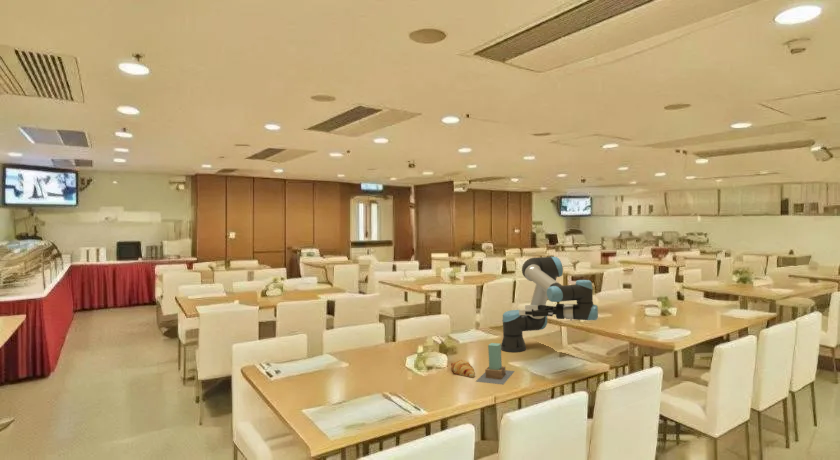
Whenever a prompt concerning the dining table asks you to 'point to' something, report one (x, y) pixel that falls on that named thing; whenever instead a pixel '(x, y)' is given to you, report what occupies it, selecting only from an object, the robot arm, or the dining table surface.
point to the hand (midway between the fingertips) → (522, 309)
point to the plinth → (495, 373)
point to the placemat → (495, 381)
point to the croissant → (463, 368)
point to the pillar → (495, 356)
